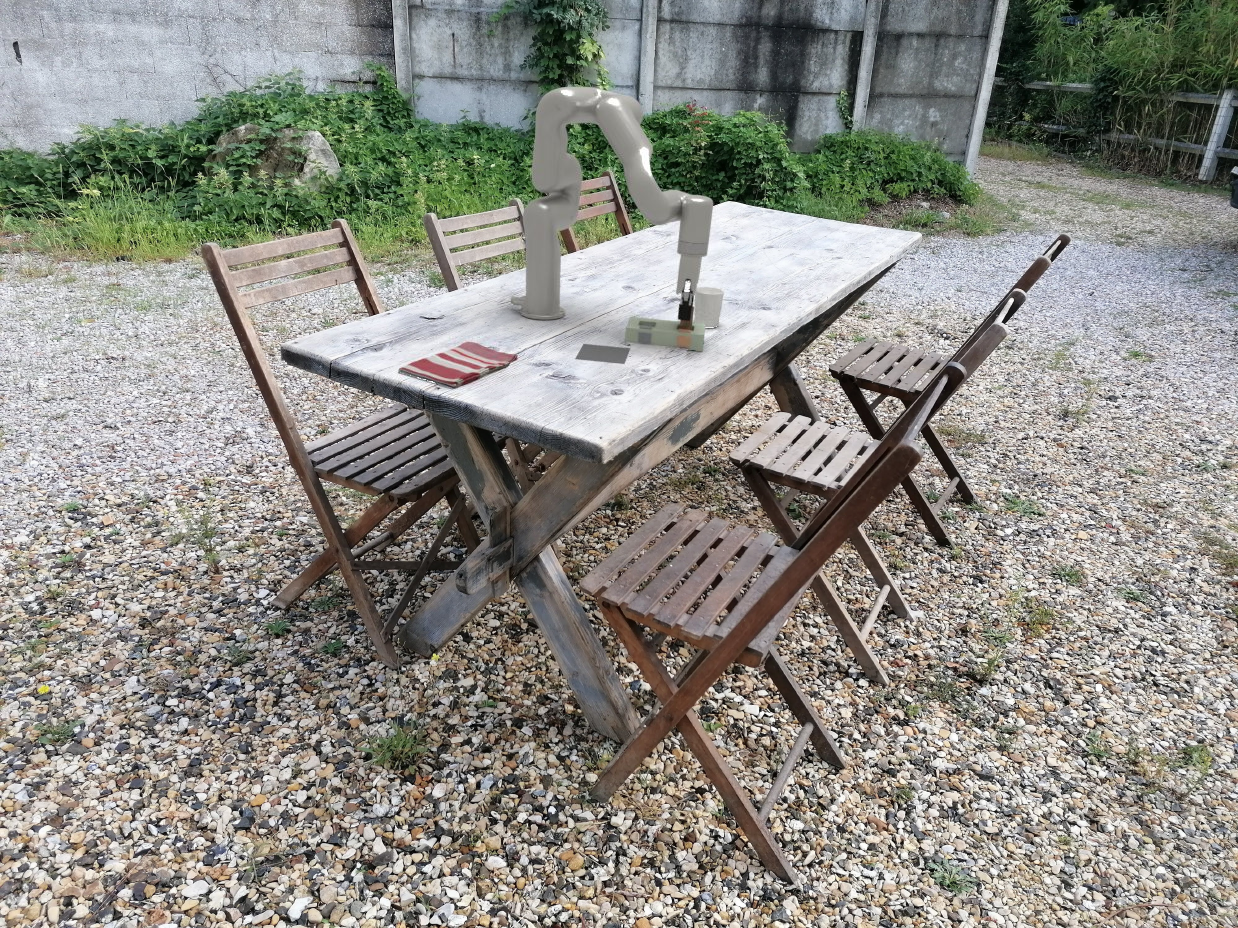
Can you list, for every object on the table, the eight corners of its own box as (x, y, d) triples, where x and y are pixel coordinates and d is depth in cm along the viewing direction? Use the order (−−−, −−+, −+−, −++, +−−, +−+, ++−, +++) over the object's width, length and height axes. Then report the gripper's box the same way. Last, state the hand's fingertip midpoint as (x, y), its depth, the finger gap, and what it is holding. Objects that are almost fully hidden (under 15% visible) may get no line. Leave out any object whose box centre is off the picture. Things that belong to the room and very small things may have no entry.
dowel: (677, 345, 217) (681, 307, 213) (678, 341, 220) (682, 304, 216) (689, 346, 217) (693, 309, 212) (690, 343, 220) (694, 305, 215)
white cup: (697, 330, 230) (701, 294, 226) (688, 321, 237) (691, 286, 233) (724, 329, 232) (728, 294, 228) (713, 321, 239) (717, 286, 235)
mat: (574, 362, 201) (575, 359, 201) (583, 346, 212) (583, 343, 211) (624, 367, 200) (624, 363, 200) (630, 351, 211) (630, 348, 210)
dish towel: (520, 364, 199) (520, 353, 198) (453, 392, 181) (453, 380, 180) (465, 349, 207) (465, 338, 206) (396, 374, 188) (396, 363, 187)
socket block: (624, 344, 215) (625, 326, 213) (629, 333, 224) (630, 315, 222) (702, 352, 213) (704, 334, 211) (703, 340, 222) (705, 322, 220)
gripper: (680, 239, 215) (673, 304, 223) (675, 253, 200) (667, 322, 208) (709, 242, 215) (701, 307, 222) (706, 257, 199) (697, 326, 207)
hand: (685, 314), depth 215 cm, fingers open, 9 cm apart
